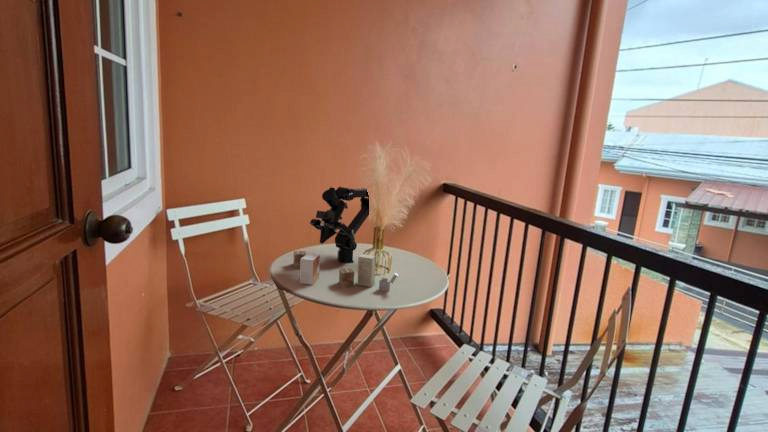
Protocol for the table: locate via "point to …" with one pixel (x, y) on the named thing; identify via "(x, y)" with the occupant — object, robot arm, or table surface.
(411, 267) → the table surface
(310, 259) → the small box
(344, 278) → the walnut block one
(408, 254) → the table surface
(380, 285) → the lighter
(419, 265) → the table surface
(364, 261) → the skincare box
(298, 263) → the walnut block seven
